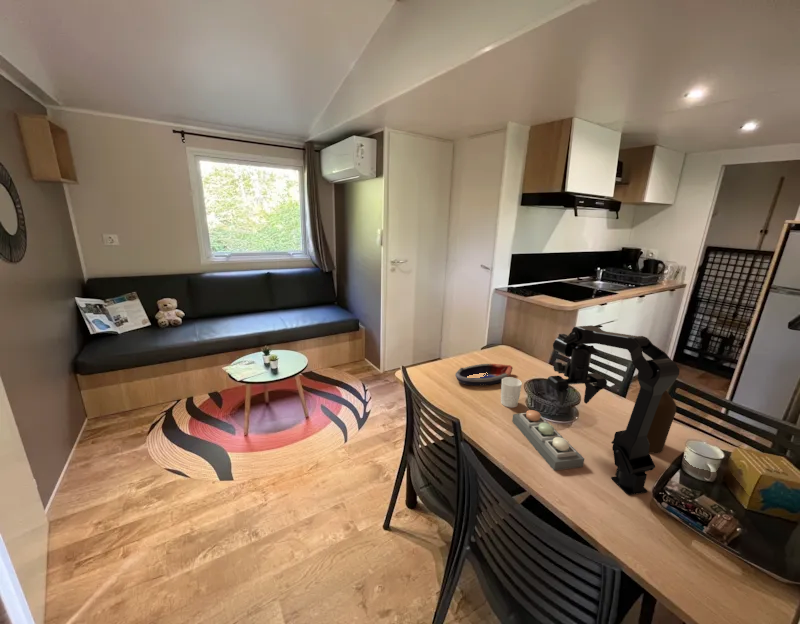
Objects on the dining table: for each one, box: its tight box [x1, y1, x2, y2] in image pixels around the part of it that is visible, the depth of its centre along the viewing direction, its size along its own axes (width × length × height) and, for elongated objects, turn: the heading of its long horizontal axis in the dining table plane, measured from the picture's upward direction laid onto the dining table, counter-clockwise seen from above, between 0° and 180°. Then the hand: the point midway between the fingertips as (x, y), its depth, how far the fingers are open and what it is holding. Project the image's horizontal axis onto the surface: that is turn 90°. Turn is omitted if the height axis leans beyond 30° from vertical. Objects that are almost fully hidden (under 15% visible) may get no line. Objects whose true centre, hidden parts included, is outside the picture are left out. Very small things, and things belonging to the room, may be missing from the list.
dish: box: [454, 363, 513, 386], centre depth 161 cm, size 16×31×5 cm, turn 109°
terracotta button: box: [525, 409, 542, 422], centre depth 123 cm, size 5×5×2 cm
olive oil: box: [647, 390, 677, 454], centre depth 113 cm, size 11×11×25 cm
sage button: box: [538, 422, 555, 435], centre depth 116 cm, size 5×5×2 cm
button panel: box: [511, 412, 585, 471], centre depth 117 cm, size 26×10×4 cm, turn 10°
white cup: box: [500, 376, 523, 409], centre depth 139 cm, size 8×8×10 cm
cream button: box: [552, 437, 571, 451], centre depth 108 cm, size 5×5×2 cm
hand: (573, 404), depth 118 cm, fingers open, 9 cm apart
